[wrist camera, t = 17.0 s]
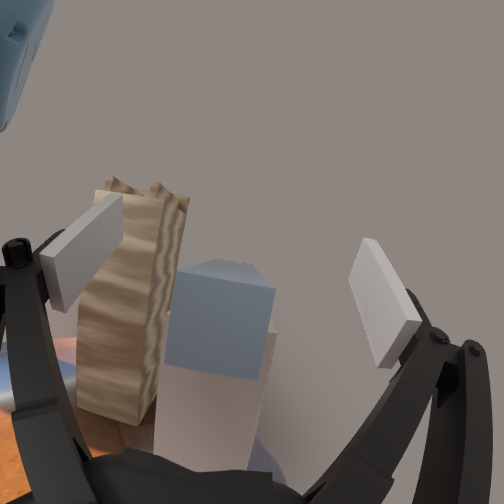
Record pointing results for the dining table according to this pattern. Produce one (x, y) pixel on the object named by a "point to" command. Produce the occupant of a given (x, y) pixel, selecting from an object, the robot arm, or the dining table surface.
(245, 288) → the blue-grey bar
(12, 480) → the dining table surface
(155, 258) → the tall open-topped box
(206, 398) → the white block
